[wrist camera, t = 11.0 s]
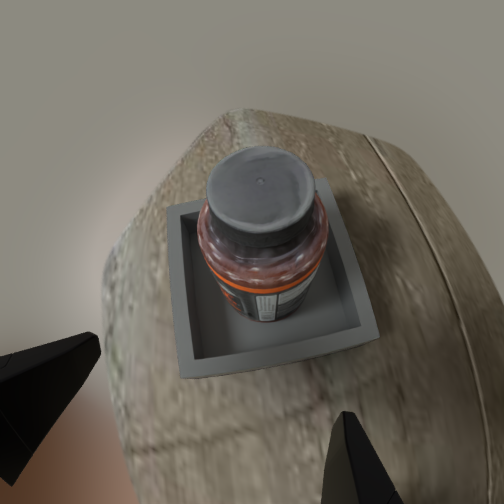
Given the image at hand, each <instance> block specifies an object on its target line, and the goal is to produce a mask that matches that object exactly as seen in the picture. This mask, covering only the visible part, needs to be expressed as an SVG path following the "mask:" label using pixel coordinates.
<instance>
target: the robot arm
mask: <svg viewBox="0 0 504 504" xmlns="http://www.w3.org/2000/svg"><path fill="white" fill-rule="evenodd" d="M100 355H101V348H100V343H99V338H98V336H97V335H95V334H94V333H92V332H85V333H81V334H78V335H75V336H71V337H68V338H65V339H61V340H58V341H54V342H51V343H47V344H44V345H41V346H37V347H33V348H30V349H26V350H23V351H19V352H15V353H13V354H12V353H11V354H8V355H4V356H0V477H1V478H2V479H3V480H4V481H5V482H6V483H8V484H9V485H10V486H13V485H14V483H15V482H16V480H17V479H18V477H19V475H20V474H21V472H22V471H23V469H24V468H25V466H26V465H27V463H28V461H29V460H30V459H31V457H32V456H33V454H34V452H35V451H36V450H37V448H38V446H39V445H40V444H41V442H42V441H43V439H44V438H45V436H46V435H47V434H48V432H49V431H50V429H51V428H52V426H53V425H54V424H55V422H56V421H57V419H58V418H59V417H60V415H61V414H62V412H63V411H64V410H65V408H66V407H67V405H68V404H69V403H70V402H71V400H72V399H73V398H74V396H75V395H76V394H77V392H78V391H79V389H80V388H81V387H82V385H83V384H84V382H85V381H86V379H87V377H88V376H89V374H90V372H91V371H92V369H93V367H94V366H95V364H96V362H97V361H98V359H99V357H100ZM321 504H404V503H403V501H402V500H401V498H400V496H399V494H398V492H397V491H396V490H395V487H394V485H393V483H392V481H391V479H390V477H389V475H388V474H387V472H386V470H385V468H384V466H383V464H382V463H381V461H380V459H379V457H378V455H377V453H376V451H375V450H374V448H373V446H372V444H371V442H370V440H369V439H368V437H367V435H366V433H365V431H364V429H363V428H362V426H361V424H360V422H359V420H358V418H357V417H356V415H355V413H353V412H348V411H342V412H341V413H340V415H339V417H338V418H337V420H336V422H335V423H334V425H333V428H332V432H331V437H330V443H329V448H328V453H327V458H326V463H325V468H324V478H323V488H322V498H321Z"/></svg>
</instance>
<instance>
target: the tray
mask: <svg viewBox="0 0 504 504" xmlns="http://www.w3.org/2000/svg"><path fill="white" fill-rule="evenodd" d="M314 181H315V185H316V187H315V192H316V193H317V195H318V196H319V198H320V199H321V201H322V203H323V205H324V207H325V210H326V213H327V217H328V223H329V234H328V239H327V244H326V248H325V250H324V253H323V256H322V259H321V261H320V264H319V266H318V269H317V271H316V273H315V276H314V279H313V281H312V283H311V286H310V288H309V290H308V293H307V295H306V297H305V299H304V301H303V302H302V304H301V305H300V307H299V308H298V309H297V310H296V311H295V312H294V313H292V314H291V315H290V316H288V317H287V318H285V319H282V320H280V321H276V322H270V323H261V322H255V321H251V320H249V319H247V318H245V317H243V316H241V315H240V314H239V313H238V312H236V311H235V310H234V309H233V308H232V306H231V305H230V304H229V303H228V301H227V300H226V298H225V296H224V294H223V292H222V290H221V288H220V287H219V285H218V283H217V281H216V279H215V278H214V276H213V274H212V272H211V270H210V268H209V266H208V265H207V262H206V260H205V258H204V256H203V254H202V251H201V249H200V246H199V242H198V235H197V224H198V223H197V222H198V218H199V214H200V211H201V208H202V206H203V204H204V202H205V200H206V199H207V198H205V199H200V200H195V201H191V202H186V203H181V204H177V205H172V206H168V207H167V238H168V259H169V275H170V288H171V301H172V312H173V322H174V331H175V340H176V348H177V356H178V364H179V371H180V378H185V379H200V378H208V377H215V376H223V375H229V374H236V373H242V372H248V371H254V370H260V369H265V368H270V367H275V366H280V365H285V364H290V363H295V362H299V361H303V360H308V359H312V358H316V357H320V356H324V355H328V354H332V353H336V352H340V351H343V350H347V349H351V348H354V347H358V346H361V345H364V344H366V343H369V342H371V341H373V340H375V339H378V338H380V335H379V331H378V327H377V324H376V320H375V316H374V313H373V309H372V306H371V302H370V299H369V296H368V292H367V289H366V286H365V283H364V279H363V276H362V273H361V270H360V267H359V264H358V261H357V258H356V255H355V252H354V249H353V246H352V243H351V241H350V238H349V235H348V232H347V230H346V227H345V224H344V221H343V219H342V216H341V214H340V211H339V208H338V206H337V203H336V201H335V198H334V196H333V193H332V191H331V188H330V186H329V183H328V181H327V179H326V178H321V179H314Z"/></svg>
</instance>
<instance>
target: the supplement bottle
mask: <svg viewBox="0 0 504 504" xmlns="http://www.w3.org/2000/svg"><path fill="white" fill-rule="evenodd" d="M315 187H316V185H315V181H314V177H313V174H312V172H311V171H310V169H309V167H308V166H307V164H306V163H304V162H303V161H302V160H301V159H300V158H299V157H298V156H296V155H295V154H293V153H291V152H289V151H286V150H284V149H280V148H278V147H270V146H254V147H246V148H243V149H241V150H238V151H235V152H234V153H231V154H230V155H228V156H226V157H225V158H223V159H222V160H221V161H220V162H219V163H218V164H217V165H216V166H215V167H214V168H213V170H212V171H211V173H210V175H209V178H208V181H207V187H206V196H207V199H206V200H205V202H204V204H203V206H202V208H201V211H200V214H199V218H198V222H197V223H198V224H197V235H198V242H199V246H200V249H201V251H202V254H203V256H204V258H205V260H206V262H207V265H208V266H209V268H210V270H211V272H212V274H213V276H214V278H215V279H216V281H217V283H218V285H219V287H220V288H221V290H222V292H223V294H224V296H225V298H226V300H227V301H228V303H229V304H230V305H231V306H232V308H233V309H234V310H235V311H236V312H238V313H239V314H240V315H241V316H243V317H245V318H247V319H249V320H251V321H255V322H261V323H270V322H276V321H280V320H282V319H285V318H287V317H288V316H290V315H291V314H292V313H294V312H295V311H296V310H297V309H298V308H299V307H300V305H301V304H302V302H303V301H304V299H305V297H306V295H307V293H308V290H309V288H310V286H311V283H312V281H313V279H314V276H315V273H316V271H317V269H318V266H319V264H320V261H321V259H322V256H323V253H324V250H325V248H326V244H327V239H328V234H329V223H328V217H327V213H326V210H325V207H324V205H323V203H322V201H321V199H320V198H319V196H318V195H317V193H316V192H315Z"/></svg>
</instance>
